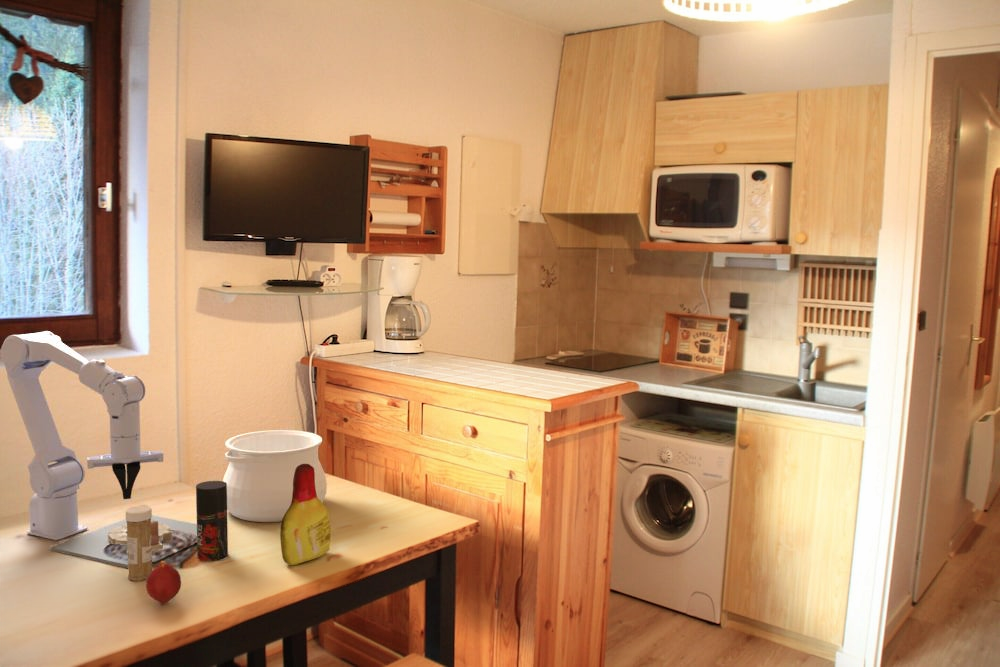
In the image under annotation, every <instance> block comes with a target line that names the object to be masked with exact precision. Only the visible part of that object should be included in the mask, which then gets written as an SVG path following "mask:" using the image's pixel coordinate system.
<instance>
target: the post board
mask: <svg viewBox="0 0 1000 667" xmlns="http://www.w3.org/2000/svg"><path fill="white" fill-rule="evenodd" d="M126 521H127V520H126V518H124V519H123V520H120V521H117V522H114V523H112V524H109V525H106V526H104V527H101V528H97V529H95V530H92V531H89V532H87V533H85V534H82V535H79V536H76V537H74V538H71V539H68V540H65V541H63V542H60V543H57V544H54V545H52V546H50V548H49V550H50V551H54V552H58V553H61V554H66V555H70V556H74V557H80V558H84V559H87V560H88V559H89V560H91V561H92V560H93V561H97V562H101V563H104V564H109V565H114V566H117V567H122V568H126V569H128V561H118V560H115V559H111V558H109V557H107V556H105V555H104V554H103V549H104V548H105V547H106V546H107V545H109V544H111V542H110V541H109V540H108V533H109V532H110V531H112V530H114V529H115V528H117V527H119V526H122V525H127V522H126ZM151 521H158V522H161V523H162V524H163V523H165V524H166V525H167V526H168V527H169V528H170V530H181V531H186V532H189V533H192V534H194V535H196V536H197V523H193V522H188V521H184V520H183V521H182V520H176V519H173V518H168V517H161V516H157V515H153V514H152V517H151Z"/></svg>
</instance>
